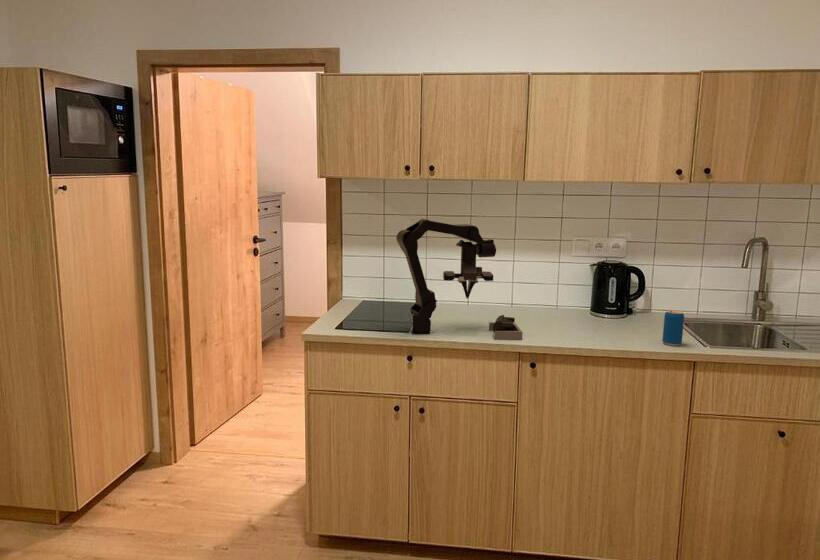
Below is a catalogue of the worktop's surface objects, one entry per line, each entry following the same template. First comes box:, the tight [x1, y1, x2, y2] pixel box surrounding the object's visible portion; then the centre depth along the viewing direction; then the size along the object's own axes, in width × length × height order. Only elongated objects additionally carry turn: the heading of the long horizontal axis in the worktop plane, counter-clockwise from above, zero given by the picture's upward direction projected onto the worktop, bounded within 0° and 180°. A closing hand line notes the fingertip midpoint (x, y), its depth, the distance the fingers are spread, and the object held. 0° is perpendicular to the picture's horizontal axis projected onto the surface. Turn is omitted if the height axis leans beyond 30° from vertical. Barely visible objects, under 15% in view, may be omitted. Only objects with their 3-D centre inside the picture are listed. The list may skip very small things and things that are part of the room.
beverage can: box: [662, 309, 685, 347], centre depth 228 cm, size 6×6×12 cm
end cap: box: [493, 314, 516, 334], centre depth 237 cm, size 10×7×7 cm
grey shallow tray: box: [488, 321, 523, 341], centre depth 238 cm, size 10×14×3 cm
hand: (467, 298), depth 244 cm, fingers closed
